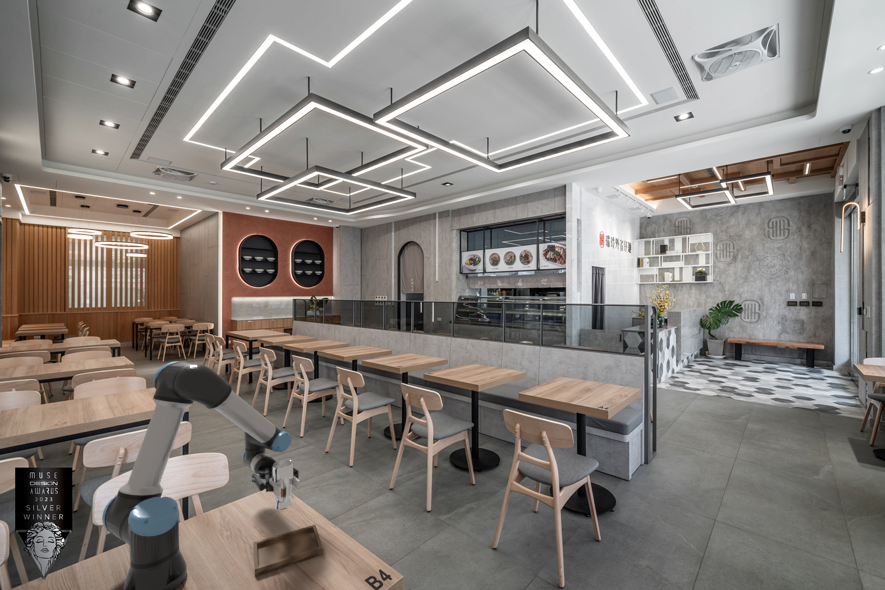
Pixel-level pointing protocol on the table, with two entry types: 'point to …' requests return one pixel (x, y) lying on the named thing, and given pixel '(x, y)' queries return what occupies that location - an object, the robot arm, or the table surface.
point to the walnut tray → (286, 549)
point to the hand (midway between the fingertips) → (288, 488)
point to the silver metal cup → (283, 483)
